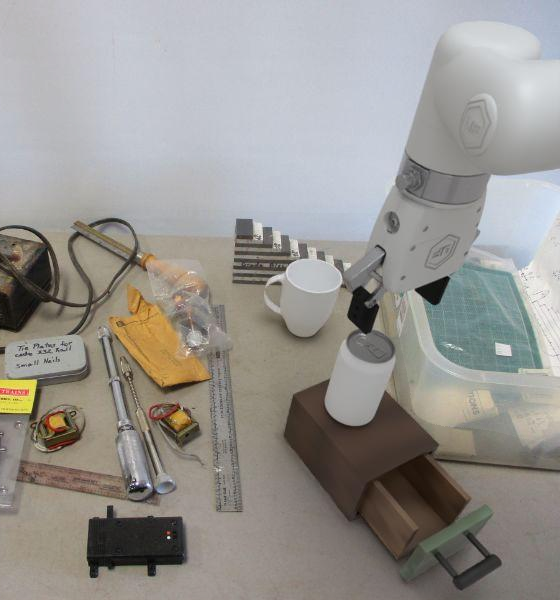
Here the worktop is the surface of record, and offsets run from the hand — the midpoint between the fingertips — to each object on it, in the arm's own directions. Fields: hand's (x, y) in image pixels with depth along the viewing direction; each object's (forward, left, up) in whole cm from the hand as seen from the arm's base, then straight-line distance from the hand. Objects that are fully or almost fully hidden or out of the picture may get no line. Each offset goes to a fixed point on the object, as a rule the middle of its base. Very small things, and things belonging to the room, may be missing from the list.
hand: (393, 311), depth 65 cm
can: (+1, 0, -18) cm, 18 cm away
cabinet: (-1, 0, -28) cm, 28 cm away
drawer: (-13, 0, -27) cm, 30 cm away
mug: (+24, -9, -28) cm, 38 cm away
